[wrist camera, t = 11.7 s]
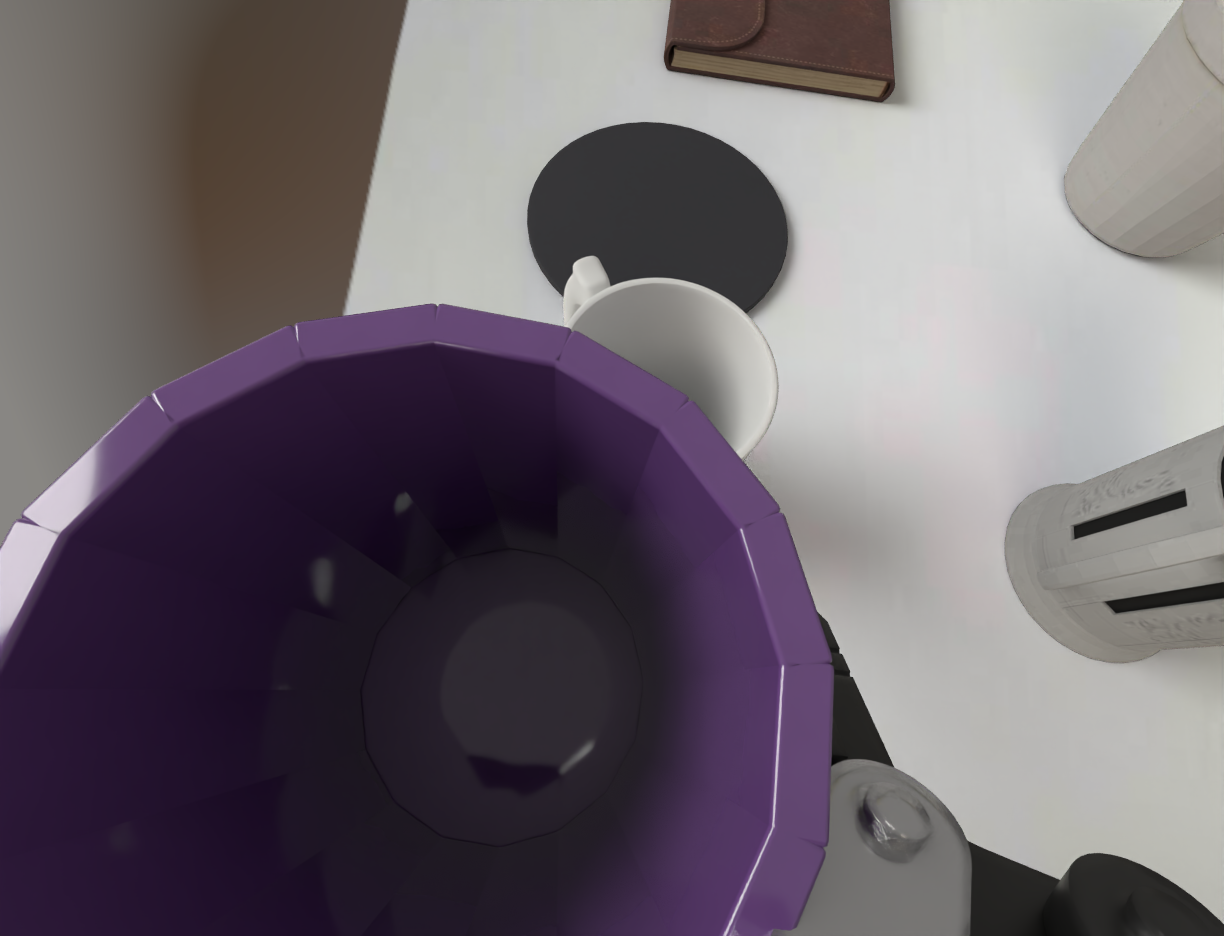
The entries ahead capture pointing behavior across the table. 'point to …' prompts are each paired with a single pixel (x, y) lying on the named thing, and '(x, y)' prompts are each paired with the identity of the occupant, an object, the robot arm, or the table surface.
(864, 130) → the table surface
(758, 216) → the mat
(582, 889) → the cup
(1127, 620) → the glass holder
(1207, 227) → the potted plant
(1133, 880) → the robot arm
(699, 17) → the notebook
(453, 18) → the table surface
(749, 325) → the mug
